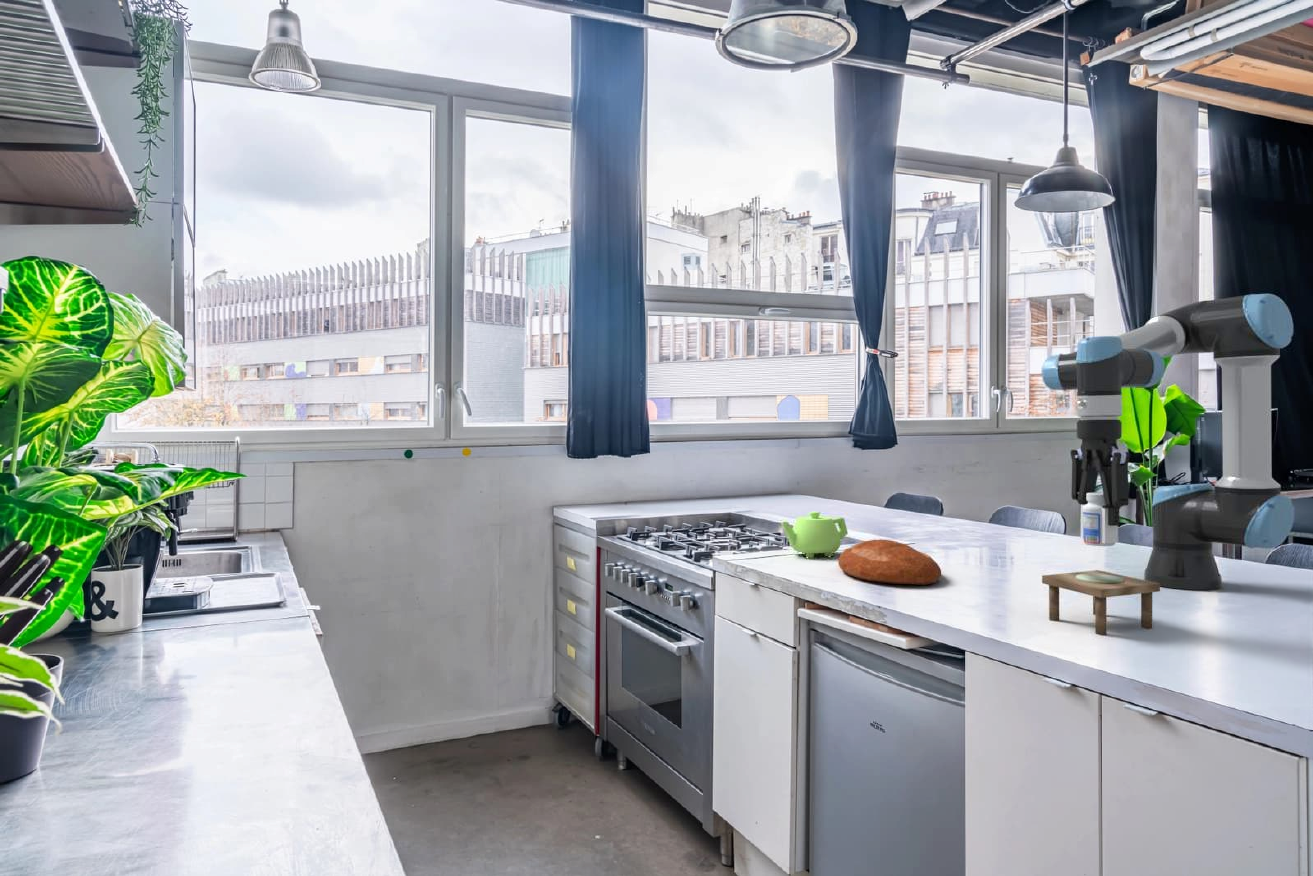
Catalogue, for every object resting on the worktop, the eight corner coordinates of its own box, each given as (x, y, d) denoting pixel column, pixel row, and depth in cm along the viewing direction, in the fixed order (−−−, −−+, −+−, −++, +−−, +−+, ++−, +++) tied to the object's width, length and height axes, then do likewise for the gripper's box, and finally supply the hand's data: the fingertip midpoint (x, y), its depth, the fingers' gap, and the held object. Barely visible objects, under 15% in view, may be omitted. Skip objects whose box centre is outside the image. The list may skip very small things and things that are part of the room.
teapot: (790, 561, 228) (790, 516, 228) (773, 553, 241) (773, 510, 241) (857, 557, 232) (856, 513, 232) (836, 549, 245) (836, 508, 245)
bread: (890, 562, 225) (890, 530, 224) (967, 585, 194) (967, 547, 194) (817, 568, 218) (817, 535, 218) (885, 592, 188) (884, 554, 187)
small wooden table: (1097, 612, 165) (1097, 568, 165) (1160, 628, 152) (1159, 581, 152) (1042, 618, 161) (1042, 574, 161) (1101, 636, 148) (1101, 588, 147)
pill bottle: (1109, 542, 158) (1109, 492, 158) (1119, 546, 153) (1119, 494, 153) (1079, 542, 159) (1079, 491, 159) (1087, 546, 154) (1087, 494, 154)
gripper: (1050, 418, 164) (1050, 534, 165) (1114, 418, 146) (1114, 548, 146) (1084, 418, 165) (1084, 532, 166) (1152, 418, 147) (1152, 547, 147)
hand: (1098, 540), depth 156 cm, fingers closed on pill bottle, 5 cm apart
